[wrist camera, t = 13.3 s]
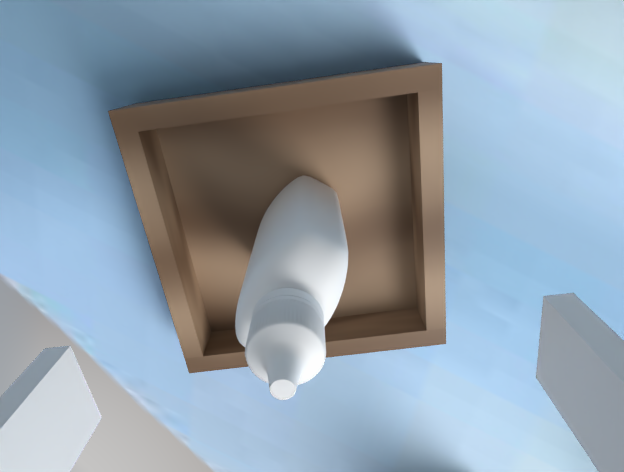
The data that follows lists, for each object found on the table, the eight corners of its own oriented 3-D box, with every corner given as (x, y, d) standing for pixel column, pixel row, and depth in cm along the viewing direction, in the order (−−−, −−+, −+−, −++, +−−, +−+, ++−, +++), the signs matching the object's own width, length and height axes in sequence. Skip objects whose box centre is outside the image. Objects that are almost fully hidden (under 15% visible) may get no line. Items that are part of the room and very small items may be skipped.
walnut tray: (134, 103, 21) (108, 111, 18) (423, 62, 20) (441, 63, 17) (201, 339, 26) (189, 373, 23) (431, 312, 26) (446, 343, 23)
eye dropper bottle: (362, 230, 23) (414, 398, 12) (274, 281, 24) (245, 477, 13) (318, 162, 21) (329, 278, 10) (227, 219, 22) (147, 380, 11)
